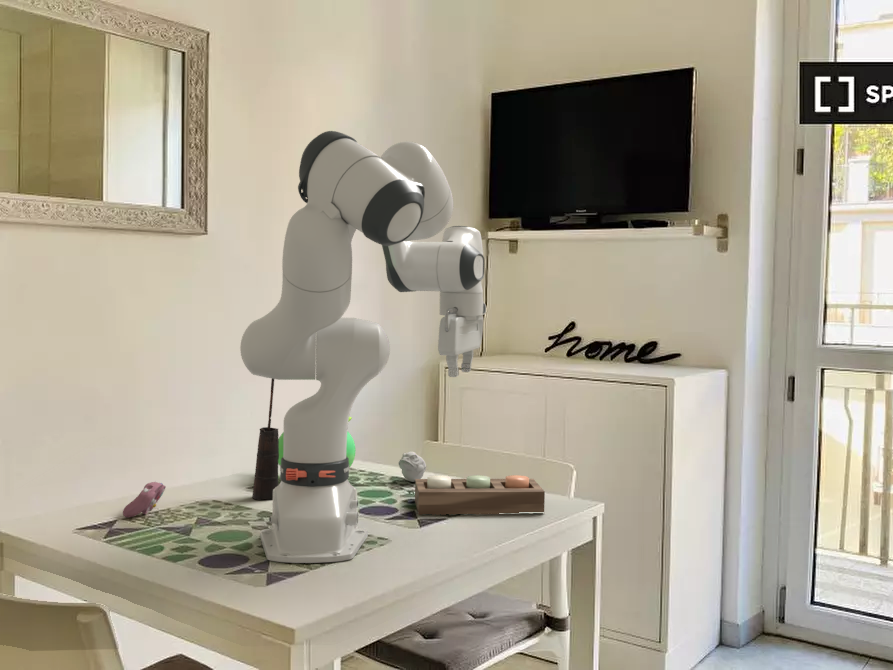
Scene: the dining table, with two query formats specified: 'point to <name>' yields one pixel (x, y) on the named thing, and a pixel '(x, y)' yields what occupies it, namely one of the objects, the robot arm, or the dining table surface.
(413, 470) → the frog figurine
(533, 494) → the button panel
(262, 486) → the butter churn
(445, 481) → the cream button
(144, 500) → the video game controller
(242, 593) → the dining table surface
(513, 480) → the terracotta button
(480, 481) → the sage button
